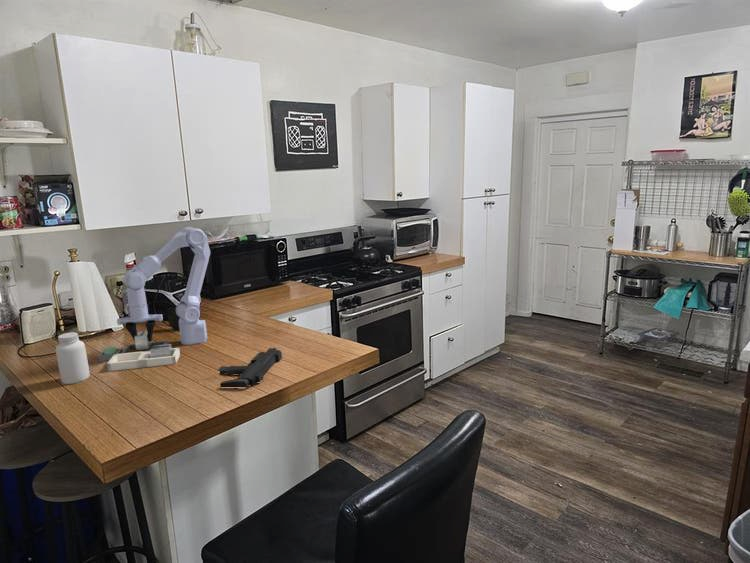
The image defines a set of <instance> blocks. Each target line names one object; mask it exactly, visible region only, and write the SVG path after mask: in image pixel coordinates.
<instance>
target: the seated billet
mask: <svg viewBox="0 0 750 563" xmlns="http://www.w3.org/2000/svg"><path fill="white" fill-rule="evenodd" d="M172 348H173V347H172V343H168V344H165V345H155V346H152V347H150V349H149V351H150V353H151V358H158V357H168V356H173V353H172Z"/></svg>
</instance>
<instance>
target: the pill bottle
mask: <svg viewBox="0 0 750 563" xmlns="http://www.w3.org/2000/svg"><path fill="white" fill-rule="evenodd" d="M57 339H58V343H59V344H57V345H56V346H55V354H56V356H55V357H56V361H57V366H58V371H59V372H58V373H59V376H60V381H61V383H62V384H64V385H73V384H78V383H82V382H83V381H84V380H87V379H88V378H90V374H91V372H90V367H89V362H88V354H87V349H86V344H85V342H84V341H82V340H80V338H79V334H78V333H77V332H74V331H73V332H65V333H62V334H59V335H58V336H57Z"/></svg>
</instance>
